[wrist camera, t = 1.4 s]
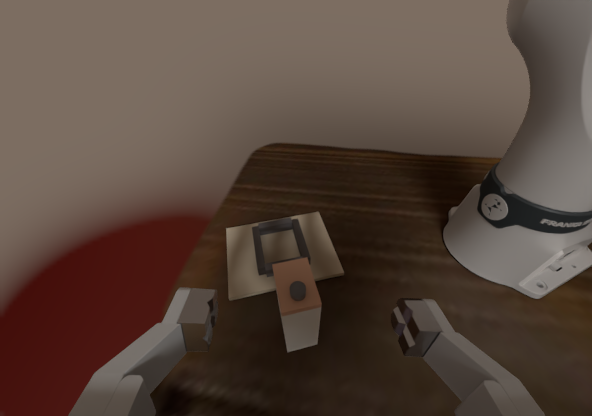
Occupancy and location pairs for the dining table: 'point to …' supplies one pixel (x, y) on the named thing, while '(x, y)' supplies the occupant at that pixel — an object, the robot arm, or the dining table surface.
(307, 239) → the board
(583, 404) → the dining table surface
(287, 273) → the white and orange block
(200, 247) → the dining table surface
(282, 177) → the dining table surface
